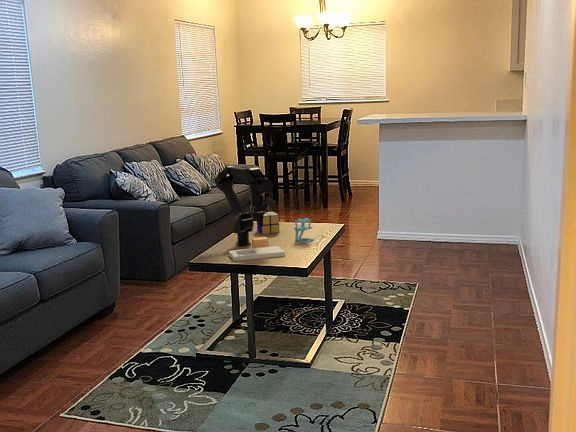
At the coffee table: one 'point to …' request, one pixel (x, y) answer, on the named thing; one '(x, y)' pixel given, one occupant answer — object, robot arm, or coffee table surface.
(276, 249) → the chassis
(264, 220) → the puzzle cube
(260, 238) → the beige block
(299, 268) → the coffee table surface
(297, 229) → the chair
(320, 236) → the coffee table surface
